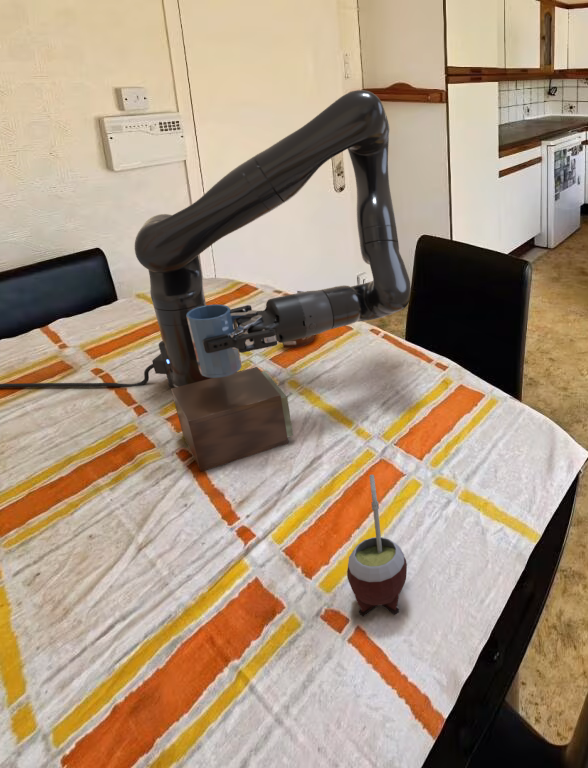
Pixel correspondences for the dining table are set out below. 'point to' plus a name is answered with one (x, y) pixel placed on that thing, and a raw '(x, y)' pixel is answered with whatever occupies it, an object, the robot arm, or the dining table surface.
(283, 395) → the drawer
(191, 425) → the cabinet
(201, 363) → the cup
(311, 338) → the food container
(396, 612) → the mate gourd
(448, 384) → the dining table surface
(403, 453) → the dining table surface
